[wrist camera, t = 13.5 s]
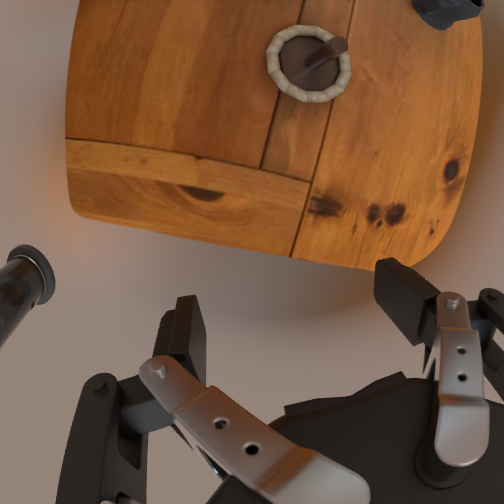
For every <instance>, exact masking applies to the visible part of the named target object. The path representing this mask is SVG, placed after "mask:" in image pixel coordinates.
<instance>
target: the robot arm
mask: <svg viewBox="0 0 504 504" xmlns="http://www.w3.org/2000/svg"><path fill="white" fill-rule="evenodd" d="M46 290H47V281H46V277H45V274H44V272H43V270H42V268H41V267H40V265H39V264H38V263H37V262H36V261H35V260H34V259H33V258H32V257H30V256H28V255H26V254H18V255H16V256H15V257H14V258H13V259H12V260H11V261H9V262H8V263H7V264H6V265H4V266H3V267H2V268H1V269H0V350H1V348H2V347H3V346H4V344H5V343H6V341H7V340H8V339H9V337H10V336H11V334H12V333H13V332H14V331H15V329H16V328H17V327H18V326H19V324H20V323H21V322H22V320H23V319H24V318H25V317H26V316H27V314H28V313H29V312H30V310H31V309H32V308H33V307H34V306H35V305H36V304H37V302H38V301H39V300H40V299H41V298H42V297H43V296H44V295H45V293H46ZM374 297H375V300H376V302H377V304H378V305H379V306H380V307H381V308H382V309H383V311H384V312H385V313H386V314H387V315H388V316H389V318H390V319H392V321H393V322H394V324H395V325H396V326H397V327H398V328H399V330H400V331H401V332H402V333H403V334H404V336H405V337H406V338H407V339H408V340H409V342H410V343H411V344H412V345H413V346H415V345H418V344H420V343H424V344H425V346H424V349H423V356H422V365H421V373H420V378H406V377H405V376H404V374H403V373H402V371H400V372H398V373H395V374H393V375H390V376H387V377H384V378H382V379H379V380H377V381H374V382H373V383H371V384H370V385H368V386H366V387H365V388H363V389H362V390H360V391H358V392H356V393H355V394H353V395H351V396H346V397H334V398H318V399H312V400H309V401H304V402H300V403H296V404H291V405H286V406H284V411H285V415H284V416H282V417H279V418H278V419H276V420H274V421H272V422H271V423H269V424H268V425H266V424H265V423H263V422H262V421H261V420H259V419H258V418H256V417H255V416H254V415H252V414H251V413H249V412H248V411H247V410H245V409H244V408H243V407H241V406H240V405H239V404H237V403H236V402H235V401H234V400H232V399H231V398H229V397H228V396H227V395H226V394H225V393H223V392H222V391H220V390H219V389H218V388H217V387H215V386H210V387H209V388H207V387H206V330H205V325H204V322H203V318H202V315H201V311H200V308H199V304H198V300H197V297H196V295H189V296H183V297H178V298H177V303H176V308H175V310H169V311H167V312H166V313H165V315H164V316H163V317H162V318H161V322H160V326H159V330H158V335H157V338H156V342H155V346H154V351H153V355H152V358H150V359H148V360H147V361H146V362H144V363H143V364H142V366H141V367H140V370H139V374H138V375H136V376H133V377H130V378H127V379H124V380H121V381H117V379H116V378H115V376H113V375H112V374H109V373H100V374H97V375H94V376H93V377H91V378H90V379H89V380H87V382H86V383H85V385H84V386H83V389H82V392H81V395H80V399H79V402H78V405H77V408H76V412H75V415H74V419H73V423H72V426H71V430H70V434H69V438H68V442H67V446H66V450H65V454H64V459H63V464H62V469H61V474H60V479H59V485H58V491H57V497H56V503H55V504H146V482H147V451H148V449H147V447H148V433H149V432H151V431H155V430H158V429H161V428H164V427H167V426H170V427H171V428H172V429H173V431H174V432H175V433H176V434H177V435H178V436H179V437H180V439H181V440H182V441H183V442H184V443H185V444H186V445H187V446H188V447H189V448H190V449H191V450H192V451H193V452H194V453H195V454H196V456H198V458H199V459H200V460H201V461H202V462H203V463H204V464H205V466H206V467H207V468H208V469H209V470H210V471H211V472H212V473H213V474H214V475H215V476H216V477H217V478H218V479H220V480H221V481H222V483H221V485H220V486H219V487H218V489H217V490H216V491H215V492H214V494H213V495H212V496H211V498H210V499H209V500H208V501H207V503H206V504H504V405H502V404H500V403H496V402H493V401H490V400H487V399H485V397H484V378H483V374H484V375H485V377H486V378H487V379H488V381H489V382H490V383H491V385H492V386H493V387H494V389H495V390H496V391H497V393H498V394H499V395H500V397H501V398H502V400H503V401H504V351H503V350H502V349H501V348H500V347H499V346H498V345H497V344H496V342H495V341H494V340H493V336H494V334H495V331H496V329H497V328H498V329H499V330H500V331H501V332H502V333H503V335H504V294H503V293H501V292H499V291H498V290H496V289H492V288H485V289H483V290H481V291H480V294H479V298H478V300H476V301H466V300H465V298H464V297H463V296H461V295H460V294H457V293H454V292H443V293H441V292H440V291H439V290H438V289H437V288H435V287H434V286H433V285H432V284H431V283H429V282H428V281H427V280H425V278H423V277H422V276H420V274H418V273H417V272H416V271H415V270H413V269H411V268H409V267H407V266H404V265H402V264H401V263H400V262H398V261H397V260H396V259H395V258H393V257H391V258H386V259H382V260H378V261H377V262H376V266H375V281H374Z"/></svg>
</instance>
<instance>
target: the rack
mask: <svg viewBox="0 0 504 504" xmlns="http://www.w3.org/2000/svg"><path fill="white" fill-rule="evenodd" d="M347 50H348V43H347V42H346V40H345V39H344V38H342V37H339V36H334V37H332V38H331V39H330V40H328V41H327V42H324V41H323V40H321V39H319V38H317V37H304V36H295V37H293V38H291V39H289V40H287V41H285V42H284V44H283V46H282V48H281V50H280V52H279V61H280V67H281V71H282V73H283V74H284V75H285V77H286V78H287V79H288V81H289V82H290V83H291V84H293V85H295V86H297V87H299V88H301V89H303V90H305V91H323V90H325V89H327V88H328V87H330V86H332V85H333V84H335V82H336V80H337V77H338V75H339V73H340V66H339V59H338V56H339V55H341V54H343V53H344V52H346V51H347ZM344 91H345V90H344Z"/></svg>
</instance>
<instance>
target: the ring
mask: <svg viewBox="0 0 504 504" xmlns="http://www.w3.org/2000/svg"><path fill="white" fill-rule="evenodd" d="M297 35H307V36H315V37H317V38H319V39H321V40H323V41H324V42H327V41H328V40H330V39H331V38H332V37H334V35H332V34H331V33H329V32H327V31H325V30H323V29H321V28H319V27H317V26H310V25H293V26H291V27H288V28H286V29H285V30H283V31H281V32H279V33H277V34H275V35H274V37H273V39H272V41H271V43H270V45H269V46H268V48H267V50H266V61H267V69H268V74H269V75H270V77H271V78H272V79H273V81H274V82H275V83H276V84H277V86H278V87H279V88H280V90H281V91H282V92H283V93H285V94H288V95H290V96H292V97H294V98H296V99H298V100H300V101H302V102H328V101H329V100H331V99H333V98H334V97H336V96H338V95H339V94H341V93H343V92H344V90H345V88H346V86H347V84H348V82H349V79H350V77H351V75H352V70H351V64H350V57H349V53H348V52H347V51H346V52H344V53H343V54H341V55H339V56H338V59H339V66H340V73H339V75H338V77H337V80H336V82H335V84H333V85H332V86H330V87H328V88H327V89H325V90H323V91H305V90H303V89H301V88H299V87H297V86H295V85H293V84H291V83H290V82H289V81H288V79H287V78H286V77H285V75H284V74H283V73H282V71H281V70H280V65H279V57H278V54H279V52H280V50H281V48H282V46H283V44H284V42H285V41H287V40H289V39H291V38H293V37H295V36H297Z"/></svg>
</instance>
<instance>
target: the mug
mask: <svg viewBox="0 0 504 504" xmlns="http://www.w3.org/2000/svg"><path fill="white" fill-rule="evenodd" d="M412 2H413V6H414V7H415V9H416V11H417V13H418V14H419V15H420V16H421V17H422V19H423V20H424V21H425V22H427V23H428V24H429V25H430V26H432V27H434V28H435V29H438V30H445V29H447V28H448V27H450V26H451V25H452V24H453V23H454V22H456V21H459V20H465V19H469V18H473V17H477V16H478V15H479V13H480V11H481V10H482V9H483V8H484V1H483V0H412Z"/></svg>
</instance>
